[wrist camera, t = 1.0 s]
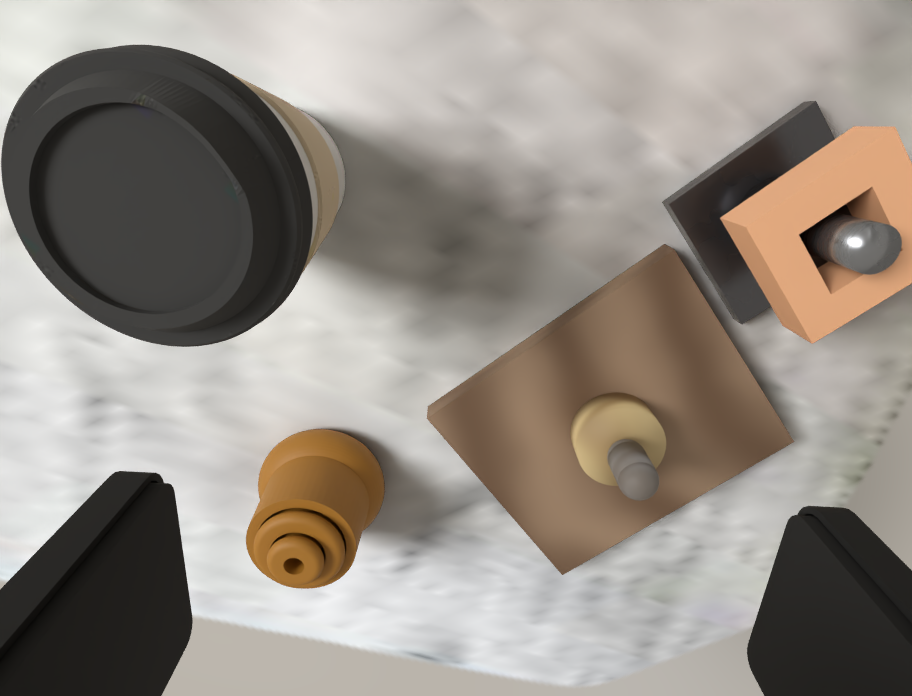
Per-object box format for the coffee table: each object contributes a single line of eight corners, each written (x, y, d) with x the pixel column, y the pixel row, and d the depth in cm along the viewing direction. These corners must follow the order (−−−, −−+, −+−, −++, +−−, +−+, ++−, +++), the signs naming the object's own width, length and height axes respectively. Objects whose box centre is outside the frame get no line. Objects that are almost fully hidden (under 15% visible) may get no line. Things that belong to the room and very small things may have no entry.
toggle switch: (664, 244, 31) (725, 278, 24) (780, 429, 35) (861, 504, 28) (427, 406, 35) (421, 477, 28) (558, 558, 39) (581, 654, 32)
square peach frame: (854, 126, 25) (895, 126, 23) (910, 245, 27) (954, 257, 25) (720, 217, 26) (745, 227, 24) (782, 325, 28) (812, 343, 26)
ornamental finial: (281, 531, 38) (252, 429, 35) (395, 518, 38) (375, 415, 35) (238, 631, 30) (199, 511, 28) (381, 616, 30) (354, 494, 28)
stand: (804, 101, 29) (937, 93, 21) (869, 232, 31) (1011, 269, 23) (662, 201, 31) (735, 229, 23) (733, 318, 33) (823, 380, 25)
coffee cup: (288, 295, 32) (162, 427, 18) (152, 172, 30) (-112, 214, 16) (403, 177, 30) (360, 223, 16) (266, 33, 28) (75, -59, 14)
